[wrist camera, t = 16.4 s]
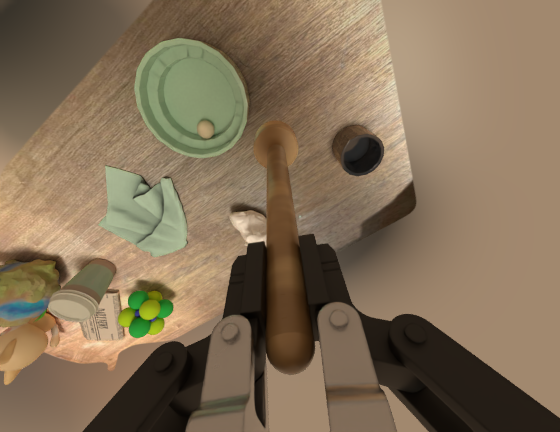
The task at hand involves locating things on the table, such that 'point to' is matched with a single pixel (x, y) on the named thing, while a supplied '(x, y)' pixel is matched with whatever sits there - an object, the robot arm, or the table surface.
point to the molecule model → (145, 313)
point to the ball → (205, 129)
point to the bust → (250, 225)
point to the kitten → (26, 344)
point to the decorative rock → (26, 290)
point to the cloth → (144, 213)
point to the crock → (358, 150)
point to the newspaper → (105, 319)
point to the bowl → (192, 96)
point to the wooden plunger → (283, 256)
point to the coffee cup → (83, 292)
